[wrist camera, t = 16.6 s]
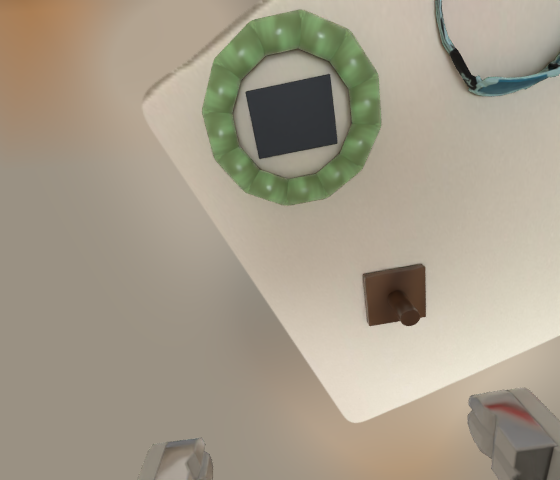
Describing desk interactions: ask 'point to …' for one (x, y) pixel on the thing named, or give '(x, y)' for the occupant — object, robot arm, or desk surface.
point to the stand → (395, 295)
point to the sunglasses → (490, 84)
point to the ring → (274, 39)
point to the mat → (293, 116)
